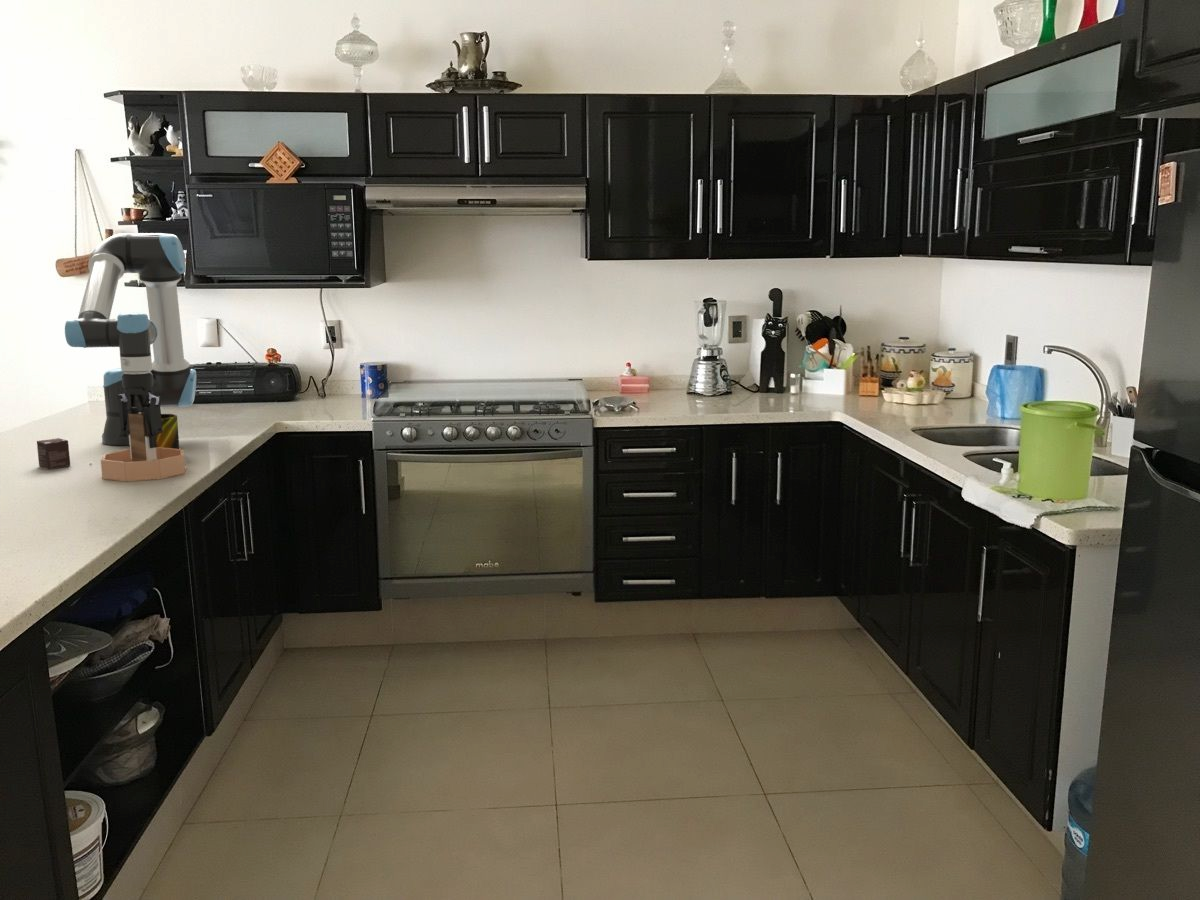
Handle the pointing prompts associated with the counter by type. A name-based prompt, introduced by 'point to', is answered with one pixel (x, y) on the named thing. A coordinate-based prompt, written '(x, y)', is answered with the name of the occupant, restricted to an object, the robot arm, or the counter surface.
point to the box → (53, 453)
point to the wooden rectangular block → (137, 436)
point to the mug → (168, 432)
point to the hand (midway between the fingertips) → (143, 458)
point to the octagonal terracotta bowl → (143, 465)
